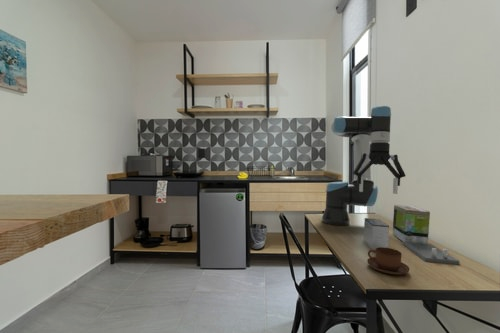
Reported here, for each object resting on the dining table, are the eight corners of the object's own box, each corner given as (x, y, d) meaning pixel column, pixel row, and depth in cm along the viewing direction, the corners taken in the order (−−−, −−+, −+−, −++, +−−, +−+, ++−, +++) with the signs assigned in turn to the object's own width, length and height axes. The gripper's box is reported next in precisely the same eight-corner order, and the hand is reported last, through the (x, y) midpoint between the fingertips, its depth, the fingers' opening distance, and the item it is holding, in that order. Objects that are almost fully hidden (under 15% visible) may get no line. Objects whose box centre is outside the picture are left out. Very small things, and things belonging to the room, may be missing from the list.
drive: (363, 240, 115) (364, 218, 115) (377, 241, 114) (379, 219, 114) (371, 249, 103) (373, 224, 103) (387, 250, 102) (389, 225, 102)
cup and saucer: (368, 273, 80) (369, 254, 80) (365, 260, 91) (366, 242, 91) (413, 281, 76) (414, 260, 76) (404, 266, 87) (405, 248, 87)
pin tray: (402, 244, 111) (403, 234, 111) (430, 246, 109) (431, 236, 109) (425, 261, 92) (425, 249, 92) (459, 264, 90) (460, 252, 90)
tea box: (429, 245, 111) (430, 211, 110) (403, 243, 113) (405, 209, 112) (414, 235, 125) (415, 205, 125) (391, 233, 127) (393, 204, 127)
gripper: (351, 140, 108) (349, 191, 107) (415, 142, 104) (414, 195, 103) (347, 143, 115) (345, 190, 115) (407, 145, 112) (405, 194, 111)
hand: (377, 192), depth 109 cm, fingers open, 13 cm apart
